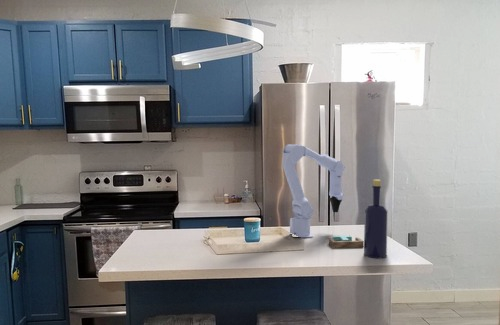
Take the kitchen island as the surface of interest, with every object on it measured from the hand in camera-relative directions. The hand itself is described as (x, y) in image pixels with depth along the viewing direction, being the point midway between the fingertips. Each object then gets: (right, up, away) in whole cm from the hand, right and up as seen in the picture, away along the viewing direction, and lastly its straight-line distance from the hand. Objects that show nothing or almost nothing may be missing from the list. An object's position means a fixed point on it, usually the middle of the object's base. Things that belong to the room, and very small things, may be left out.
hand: (335, 212), depth 184 cm
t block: (-1, -11, -22) cm, 25 cm away
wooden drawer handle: (-1, -11, -24) cm, 26 cm away
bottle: (+7, -12, -37) cm, 40 cm away
